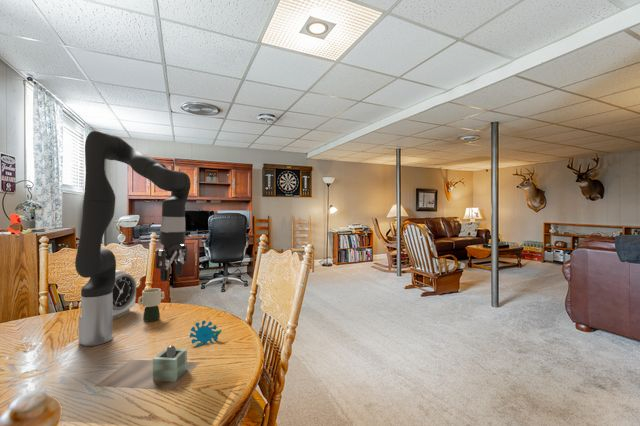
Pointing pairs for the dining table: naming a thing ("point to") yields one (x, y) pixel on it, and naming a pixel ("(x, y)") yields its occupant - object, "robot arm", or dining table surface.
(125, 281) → the alarm clock
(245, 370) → the dining table surface
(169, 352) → the metal post
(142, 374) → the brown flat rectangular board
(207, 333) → the gear
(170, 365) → the pale green open box
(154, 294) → the character mug
